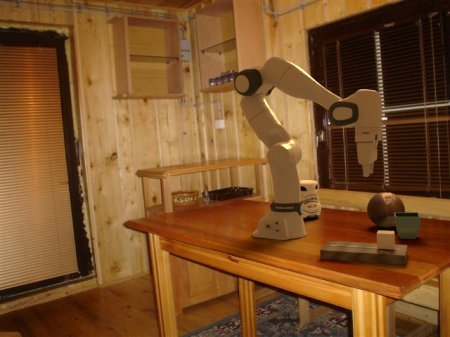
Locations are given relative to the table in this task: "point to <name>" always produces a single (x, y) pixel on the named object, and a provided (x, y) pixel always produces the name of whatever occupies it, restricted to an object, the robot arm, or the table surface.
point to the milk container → (310, 199)
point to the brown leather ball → (384, 209)
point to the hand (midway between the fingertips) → (368, 175)
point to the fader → (386, 240)
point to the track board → (363, 253)
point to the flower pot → (407, 224)
